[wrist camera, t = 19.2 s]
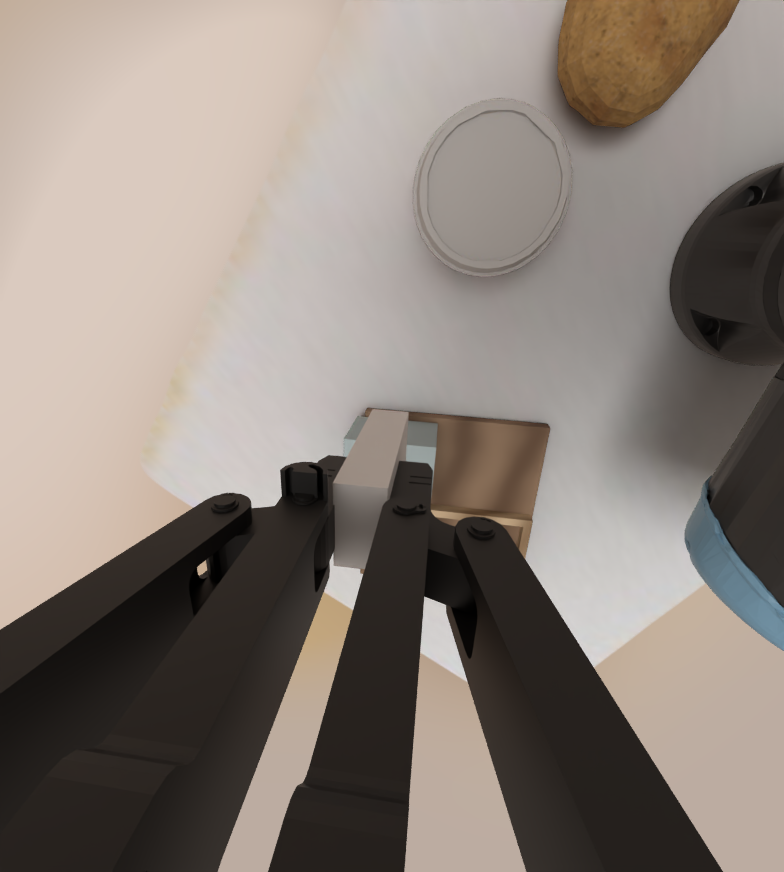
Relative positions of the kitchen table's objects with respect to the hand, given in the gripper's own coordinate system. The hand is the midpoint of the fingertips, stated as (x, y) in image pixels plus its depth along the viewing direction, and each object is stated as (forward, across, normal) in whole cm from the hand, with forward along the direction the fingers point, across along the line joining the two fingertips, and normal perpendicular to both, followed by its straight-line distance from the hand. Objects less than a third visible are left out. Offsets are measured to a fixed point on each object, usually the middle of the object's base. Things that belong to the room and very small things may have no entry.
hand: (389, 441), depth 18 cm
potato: (+25, -13, -23) cm, 36 cm away
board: (+24, -4, +17) cm, 30 cm away
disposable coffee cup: (+25, -4, -11) cm, 27 cm away
